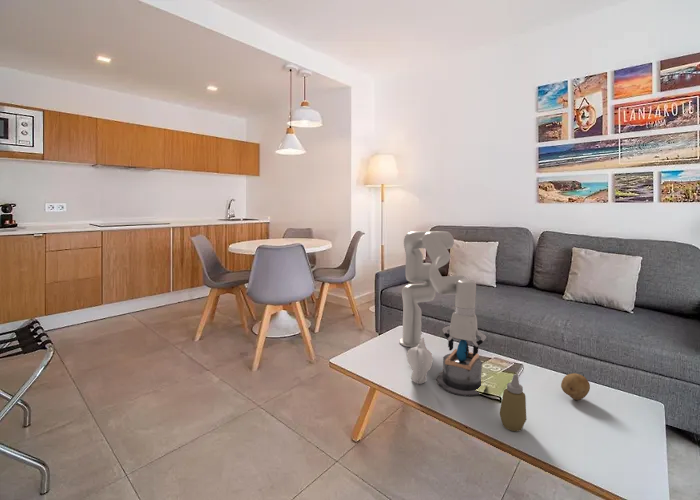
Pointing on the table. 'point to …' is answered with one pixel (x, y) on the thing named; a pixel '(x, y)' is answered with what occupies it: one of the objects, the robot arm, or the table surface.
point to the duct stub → (461, 375)
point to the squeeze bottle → (513, 406)
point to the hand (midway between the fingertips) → (462, 351)
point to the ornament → (462, 351)
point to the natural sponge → (575, 386)
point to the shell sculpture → (419, 362)
